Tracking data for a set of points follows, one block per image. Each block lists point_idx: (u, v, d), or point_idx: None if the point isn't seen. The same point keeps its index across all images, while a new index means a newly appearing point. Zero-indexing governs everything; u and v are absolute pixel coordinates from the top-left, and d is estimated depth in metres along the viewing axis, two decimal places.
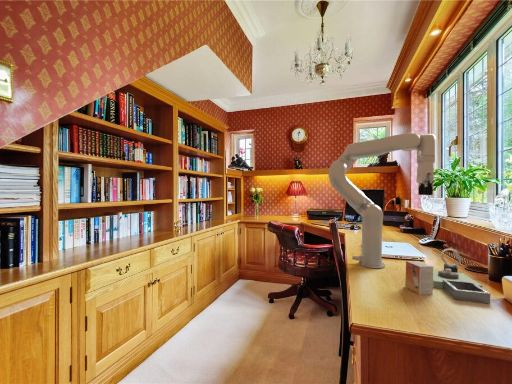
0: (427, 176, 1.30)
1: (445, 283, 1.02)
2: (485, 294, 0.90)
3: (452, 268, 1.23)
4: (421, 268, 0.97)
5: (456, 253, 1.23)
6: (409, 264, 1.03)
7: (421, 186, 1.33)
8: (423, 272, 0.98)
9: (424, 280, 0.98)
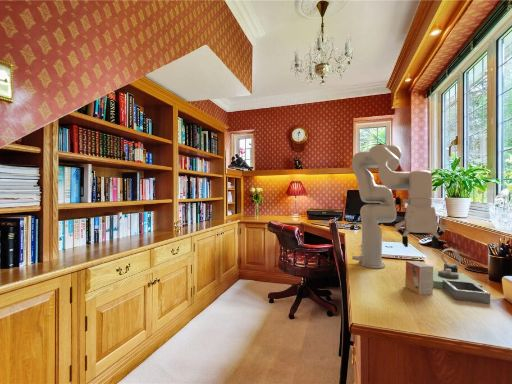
0: None
1: (445, 283, 1.02)
2: (485, 294, 0.90)
3: (452, 268, 1.23)
4: (421, 268, 0.97)
5: (456, 253, 1.23)
6: (409, 264, 1.03)
7: None
8: (423, 272, 0.98)
9: (424, 280, 0.98)
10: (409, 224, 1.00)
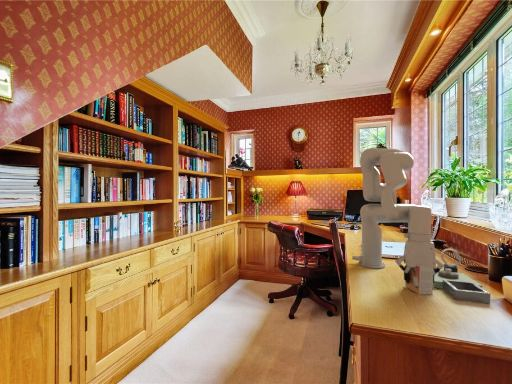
0: None
1: (445, 283, 1.02)
2: (485, 294, 0.90)
3: (452, 268, 1.23)
4: (421, 268, 0.97)
5: (456, 253, 1.23)
6: None
7: None
8: (423, 272, 0.97)
9: (424, 280, 0.98)
10: (408, 259, 1.00)
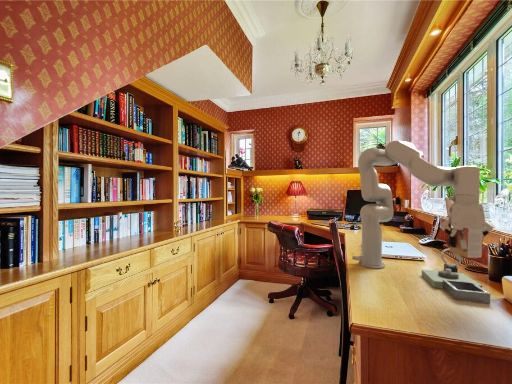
0: None
1: (445, 283, 1.02)
2: (485, 294, 0.90)
3: (452, 268, 1.23)
4: (470, 230, 0.93)
5: None
6: None
7: None
8: (472, 234, 0.93)
9: (473, 242, 0.93)
10: (455, 222, 0.96)
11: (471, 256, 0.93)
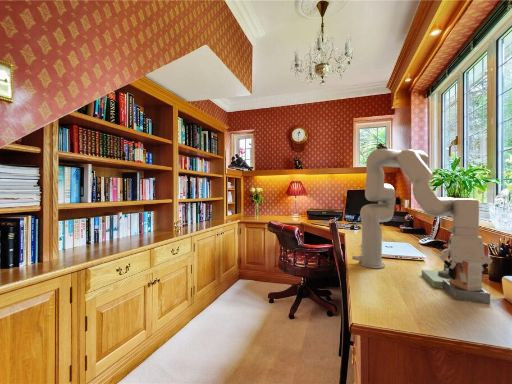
0: None
1: (445, 283, 1.02)
2: (485, 294, 0.90)
3: None
4: (469, 263, 0.93)
5: None
6: None
7: (453, 267, 0.98)
8: (471, 267, 0.93)
9: (472, 276, 0.93)
10: (454, 254, 0.96)
11: (471, 289, 0.93)
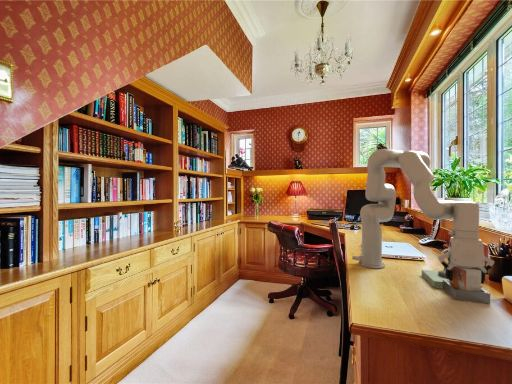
0: None
1: (445, 283, 1.02)
2: (485, 294, 0.90)
3: None
4: (468, 272, 0.93)
5: None
6: (454, 267, 0.99)
7: None
8: (470, 276, 0.93)
9: (471, 285, 0.93)
10: (454, 257, 0.96)
11: None
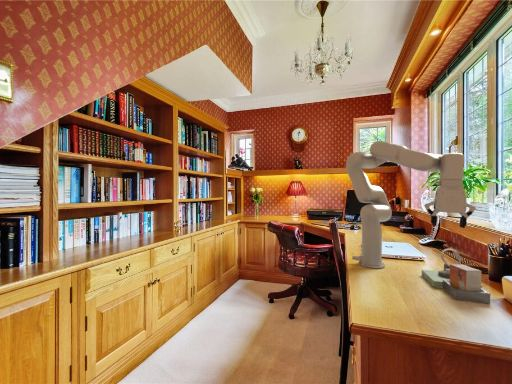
0: None
1: (445, 283, 1.02)
2: (485, 294, 0.90)
3: None
4: (468, 272, 0.93)
5: (456, 253, 1.23)
6: (454, 267, 0.99)
7: None
8: (470, 276, 0.93)
9: (471, 285, 0.93)
10: (439, 204, 1.05)
11: None
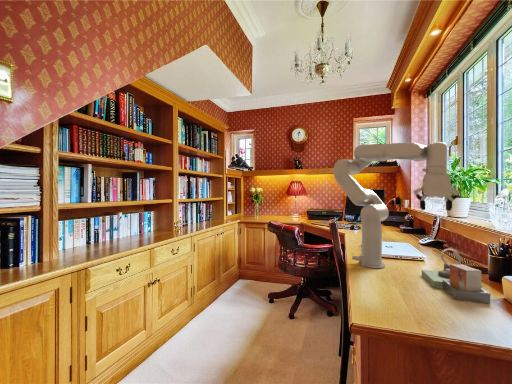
0: None
1: (445, 283, 1.02)
2: (485, 294, 0.90)
3: None
4: (468, 272, 0.93)
5: (456, 253, 1.23)
6: (454, 267, 0.99)
7: None
8: (470, 276, 0.93)
9: (471, 285, 0.93)
10: (427, 189, 1.14)
11: None
